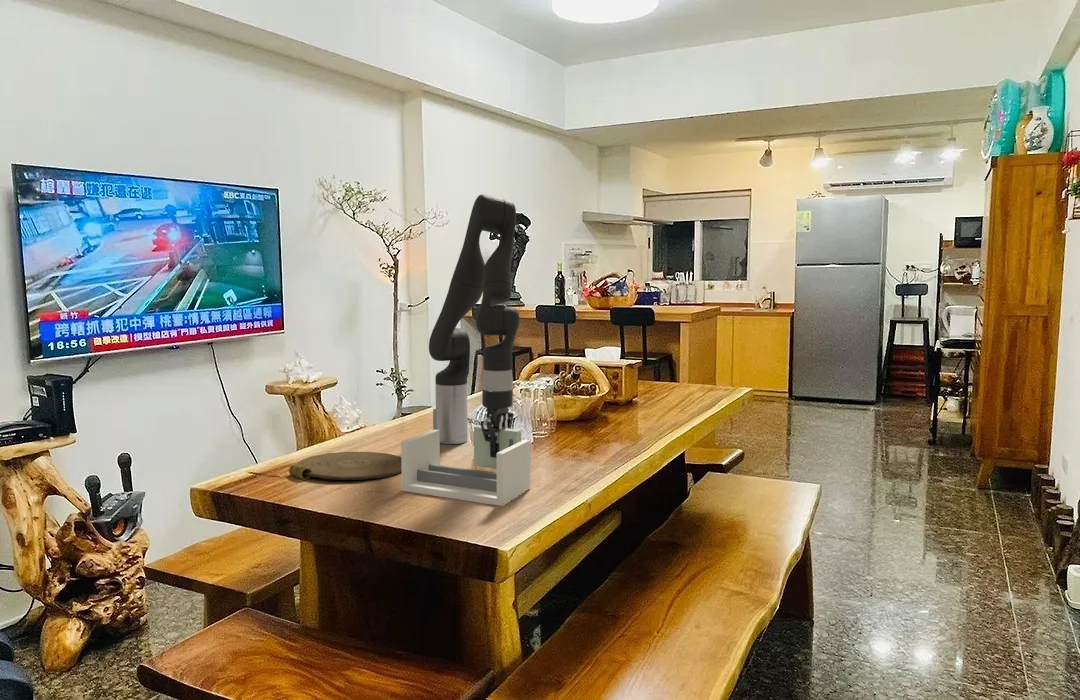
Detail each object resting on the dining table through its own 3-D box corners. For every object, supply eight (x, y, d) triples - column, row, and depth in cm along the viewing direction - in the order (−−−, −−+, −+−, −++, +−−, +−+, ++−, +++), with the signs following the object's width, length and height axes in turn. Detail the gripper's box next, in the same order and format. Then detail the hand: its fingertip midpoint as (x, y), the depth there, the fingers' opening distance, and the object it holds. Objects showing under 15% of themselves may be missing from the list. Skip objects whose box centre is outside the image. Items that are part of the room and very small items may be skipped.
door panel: (473, 465, 187) (473, 427, 186) (478, 463, 190) (478, 425, 189) (516, 471, 182) (516, 432, 181) (520, 469, 185) (521, 429, 184)
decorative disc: (433, 460, 191) (330, 479, 169) (433, 473, 191) (330, 493, 169) (368, 442, 210) (268, 456, 188) (368, 454, 211) (268, 469, 189)
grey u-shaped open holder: (401, 490, 171) (401, 441, 169) (434, 475, 183) (434, 429, 182) (502, 506, 160) (502, 453, 159) (530, 488, 173) (530, 440, 171)
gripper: (497, 382, 192) (497, 448, 194) (470, 390, 179) (470, 460, 181) (523, 384, 188) (523, 451, 191) (497, 393, 176) (497, 464, 178)
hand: (497, 455), depth 186 cm, fingers closed on door panel, 2 cm apart
